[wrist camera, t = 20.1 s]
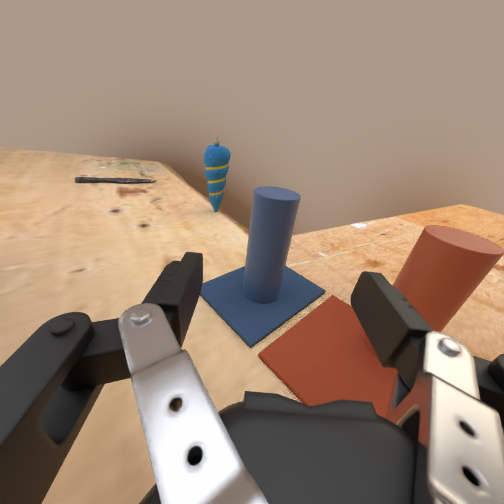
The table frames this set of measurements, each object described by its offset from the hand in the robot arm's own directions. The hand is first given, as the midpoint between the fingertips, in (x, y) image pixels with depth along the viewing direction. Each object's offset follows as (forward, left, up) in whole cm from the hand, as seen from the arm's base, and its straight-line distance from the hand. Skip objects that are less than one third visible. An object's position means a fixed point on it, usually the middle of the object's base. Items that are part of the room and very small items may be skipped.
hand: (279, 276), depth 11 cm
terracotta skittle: (+5, +13, -11) cm, 18 cm away
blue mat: (-8, +9, -11) cm, 16 cm away
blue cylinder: (-8, +8, -11) cm, 16 cm away
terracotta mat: (+3, +9, -11) cm, 14 cm away
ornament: (-34, +19, -11) cm, 40 cm away
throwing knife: (-65, +8, -11) cm, 66 cm away
